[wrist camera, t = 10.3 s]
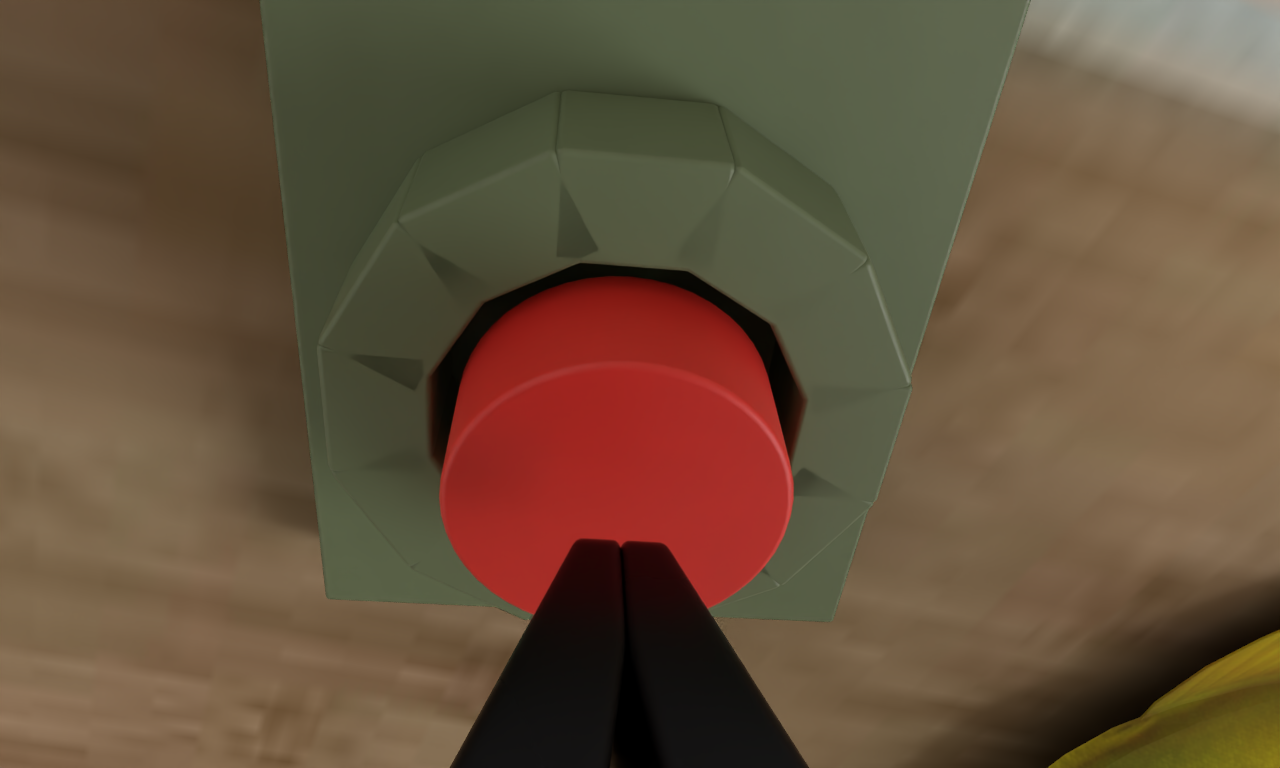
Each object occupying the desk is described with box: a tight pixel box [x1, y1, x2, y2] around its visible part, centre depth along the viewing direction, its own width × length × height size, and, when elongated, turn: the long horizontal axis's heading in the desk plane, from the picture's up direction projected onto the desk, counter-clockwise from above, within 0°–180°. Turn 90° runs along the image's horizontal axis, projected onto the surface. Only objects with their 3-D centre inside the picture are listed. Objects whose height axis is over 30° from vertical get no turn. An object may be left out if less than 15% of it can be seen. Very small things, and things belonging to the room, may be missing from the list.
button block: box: [259, 0, 1031, 622], centre depth 12 cm, size 10×8×3 cm
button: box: [439, 276, 794, 615], centre depth 11 cm, size 4×4×2 cm
